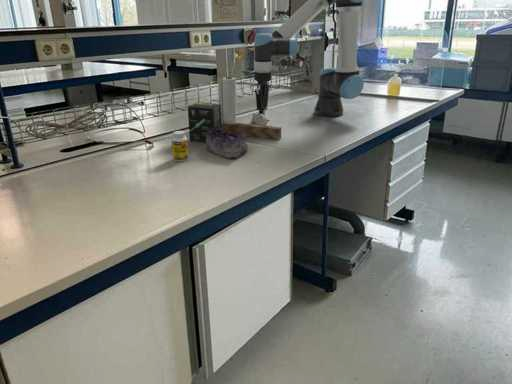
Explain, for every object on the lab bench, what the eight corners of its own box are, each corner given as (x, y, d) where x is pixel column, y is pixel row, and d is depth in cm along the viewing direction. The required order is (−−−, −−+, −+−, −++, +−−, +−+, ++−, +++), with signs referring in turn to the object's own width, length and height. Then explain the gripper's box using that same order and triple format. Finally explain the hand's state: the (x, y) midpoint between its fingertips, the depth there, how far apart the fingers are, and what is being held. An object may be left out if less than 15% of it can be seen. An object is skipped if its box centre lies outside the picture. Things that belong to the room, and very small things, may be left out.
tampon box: (222, 138, 178) (221, 103, 172) (213, 144, 170) (212, 108, 164) (199, 135, 182) (197, 101, 176) (189, 141, 174) (187, 106, 168)
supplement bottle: (173, 162, 150) (171, 134, 145) (172, 157, 155) (170, 130, 150) (189, 161, 151) (187, 133, 147) (188, 156, 156) (186, 129, 152)
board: (281, 138, 177) (281, 127, 175) (278, 140, 175) (279, 129, 173) (225, 132, 186) (224, 121, 184) (222, 134, 183) (221, 123, 181)
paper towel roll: (239, 123, 200) (238, 77, 192) (229, 126, 196) (228, 79, 188) (228, 121, 205) (227, 76, 196) (219, 123, 201) (217, 77, 192)
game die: (262, 138, 189) (267, 126, 181) (245, 131, 189) (249, 118, 181) (268, 124, 194) (273, 111, 185) (251, 117, 193) (256, 104, 185)
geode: (194, 150, 163) (194, 125, 160) (216, 148, 171) (217, 123, 168) (230, 160, 150) (231, 132, 147) (252, 157, 158) (254, 130, 155)
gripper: (260, 68, 189) (259, 119, 199) (249, 72, 178) (249, 126, 188) (275, 69, 187) (274, 121, 197) (265, 73, 176) (264, 128, 186)
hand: (261, 124), depth 192 cm, fingers closed
